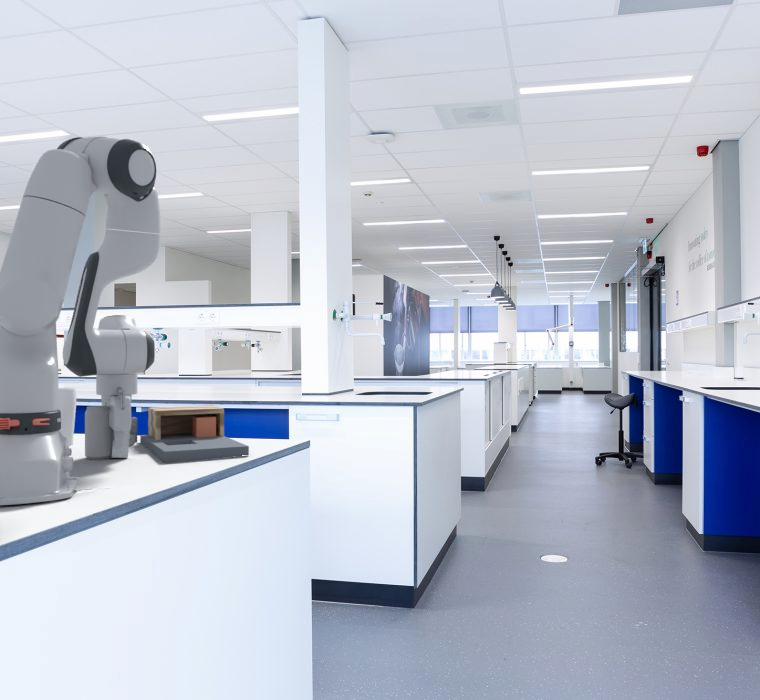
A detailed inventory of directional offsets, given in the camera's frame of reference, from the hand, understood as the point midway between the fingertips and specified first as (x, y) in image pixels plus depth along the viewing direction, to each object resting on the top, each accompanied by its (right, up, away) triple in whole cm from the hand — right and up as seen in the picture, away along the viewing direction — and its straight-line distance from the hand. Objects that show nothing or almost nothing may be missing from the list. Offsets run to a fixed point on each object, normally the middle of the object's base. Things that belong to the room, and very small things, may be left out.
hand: (116, 447), depth 160 cm
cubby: (+9, 0, +23) cm, 25 cm away
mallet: (-8, -3, +29) cm, 30 cm away
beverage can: (-4, -3, +1) cm, 5 cm away
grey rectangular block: (-2, -2, +9) cm, 9 cm away
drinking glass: (-21, -3, +19) cm, 29 cm away
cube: (+14, 0, +22) cm, 26 cm away
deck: (+14, -3, +13) cm, 19 cm away
